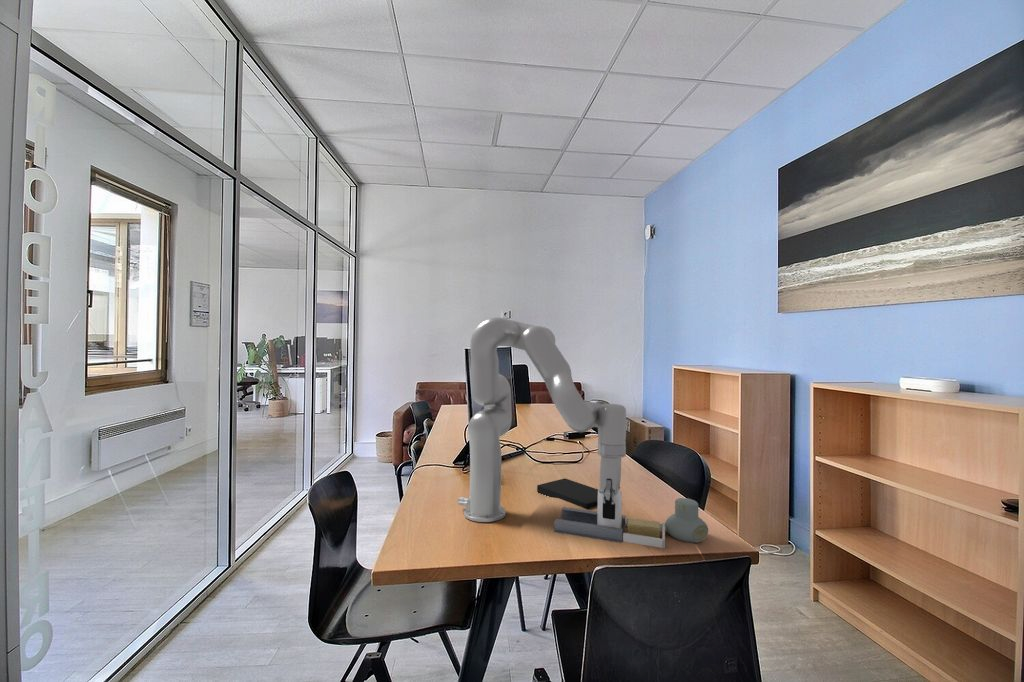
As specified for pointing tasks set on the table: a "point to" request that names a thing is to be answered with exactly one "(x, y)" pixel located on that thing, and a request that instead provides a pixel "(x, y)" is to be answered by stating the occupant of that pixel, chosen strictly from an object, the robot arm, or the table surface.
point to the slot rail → (587, 525)
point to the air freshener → (686, 522)
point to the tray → (646, 538)
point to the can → (618, 511)
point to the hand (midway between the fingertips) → (610, 511)
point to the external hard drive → (570, 492)
